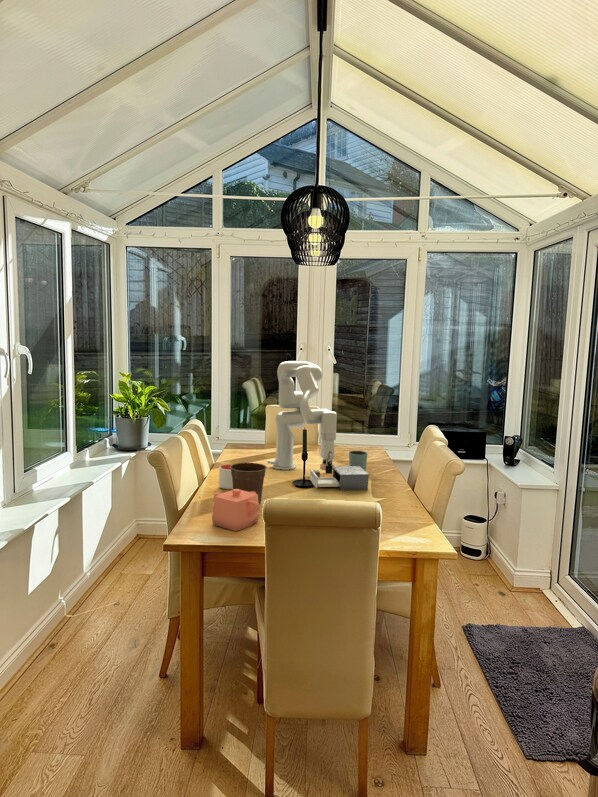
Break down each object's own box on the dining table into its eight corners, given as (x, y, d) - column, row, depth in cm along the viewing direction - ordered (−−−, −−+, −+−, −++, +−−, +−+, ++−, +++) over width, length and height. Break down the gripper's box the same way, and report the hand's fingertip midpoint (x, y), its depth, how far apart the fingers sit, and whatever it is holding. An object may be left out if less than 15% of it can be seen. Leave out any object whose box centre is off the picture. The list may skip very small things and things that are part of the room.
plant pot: (241, 494, 253) (242, 460, 251) (272, 500, 246) (273, 465, 244) (221, 503, 238) (222, 467, 236) (253, 510, 231) (254, 473, 229)
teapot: (246, 536, 203) (247, 500, 201) (201, 523, 214) (202, 488, 212) (276, 521, 219) (277, 487, 218) (233, 510, 231) (234, 478, 229)
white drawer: (315, 487, 263) (315, 476, 262) (309, 479, 277) (310, 468, 277) (342, 487, 265) (343, 476, 264) (335, 479, 280) (335, 468, 279)
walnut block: (312, 479, 281) (312, 472, 281) (310, 477, 285) (311, 470, 285) (319, 479, 282) (320, 472, 282) (318, 477, 286) (318, 470, 286)
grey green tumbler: (365, 477, 291) (366, 455, 289) (346, 475, 293) (347, 453, 291) (367, 472, 301) (368, 451, 299) (348, 470, 303) (349, 449, 301)
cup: (223, 491, 257) (223, 470, 255) (216, 485, 265) (216, 465, 264) (242, 489, 261) (243, 468, 260) (235, 483, 270) (235, 463, 269)
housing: (340, 490, 265) (340, 474, 264) (332, 481, 280) (333, 466, 279) (367, 490, 267) (368, 474, 266) (358, 481, 283) (359, 466, 282)
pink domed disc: (321, 470, 266) (321, 466, 266) (318, 467, 273) (318, 463, 273) (335, 470, 267) (335, 466, 267) (332, 467, 274) (332, 463, 274)
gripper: (317, 433, 276) (316, 467, 278) (324, 439, 259) (323, 476, 261) (331, 433, 277) (330, 467, 279) (340, 439, 260) (338, 476, 262)
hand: (327, 471), depth 270 cm, fingers closed on pink domed disc, 7 cm apart
